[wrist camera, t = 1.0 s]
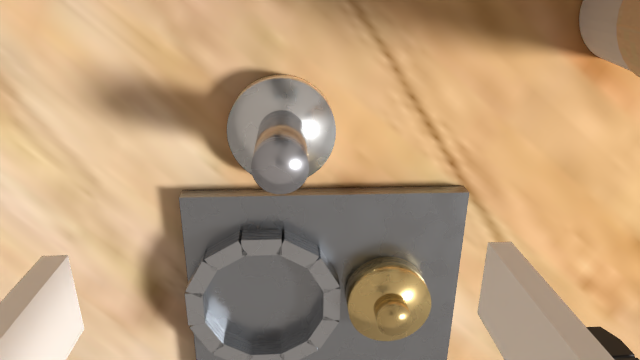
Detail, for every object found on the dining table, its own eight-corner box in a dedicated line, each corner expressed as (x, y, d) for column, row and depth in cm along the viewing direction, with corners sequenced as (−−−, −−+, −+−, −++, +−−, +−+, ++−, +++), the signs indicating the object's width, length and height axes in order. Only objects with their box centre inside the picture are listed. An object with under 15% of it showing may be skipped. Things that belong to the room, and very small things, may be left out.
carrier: (182, 190, 34) (166, 221, 29) (463, 185, 35) (489, 214, 30) (201, 370, 40) (190, 418, 35) (440, 360, 41) (459, 406, 36)
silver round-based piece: (226, 74, 31) (207, 101, 24) (334, 74, 31) (349, 101, 24) (232, 175, 34) (216, 229, 26) (332, 174, 34) (345, 226, 27)
